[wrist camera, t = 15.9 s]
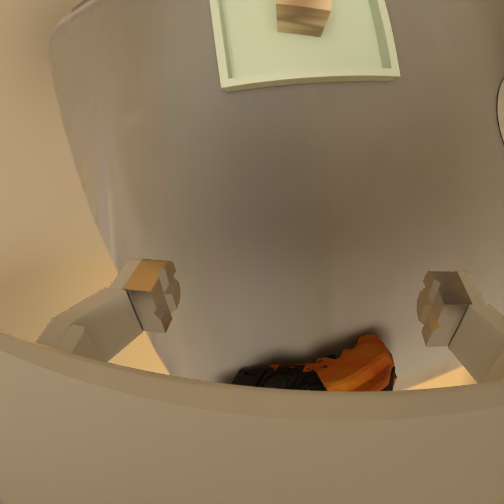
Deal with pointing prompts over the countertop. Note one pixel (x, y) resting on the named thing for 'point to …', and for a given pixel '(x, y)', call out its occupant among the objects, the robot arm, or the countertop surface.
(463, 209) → the countertop surface
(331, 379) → the tool
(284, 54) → the tray
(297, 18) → the block
